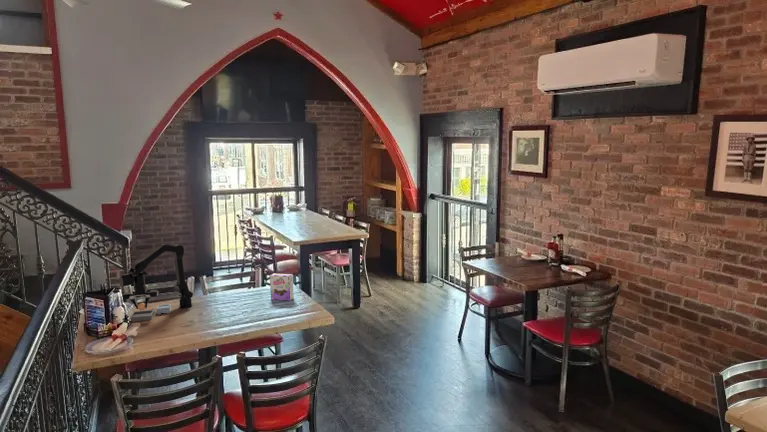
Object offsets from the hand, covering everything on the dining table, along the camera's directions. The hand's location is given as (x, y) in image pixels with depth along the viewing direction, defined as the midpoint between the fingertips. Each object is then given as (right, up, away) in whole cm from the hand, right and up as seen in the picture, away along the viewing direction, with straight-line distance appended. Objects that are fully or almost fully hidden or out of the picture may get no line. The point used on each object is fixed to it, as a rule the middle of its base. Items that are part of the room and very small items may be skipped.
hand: (141, 308), depth 311 cm
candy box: (+77, +1, +30) cm, 83 cm away
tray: (0, -5, +1) cm, 5 cm away
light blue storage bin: (+9, -4, +10) cm, 14 cm away
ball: (0, +1, 0) cm, 1 cm away
